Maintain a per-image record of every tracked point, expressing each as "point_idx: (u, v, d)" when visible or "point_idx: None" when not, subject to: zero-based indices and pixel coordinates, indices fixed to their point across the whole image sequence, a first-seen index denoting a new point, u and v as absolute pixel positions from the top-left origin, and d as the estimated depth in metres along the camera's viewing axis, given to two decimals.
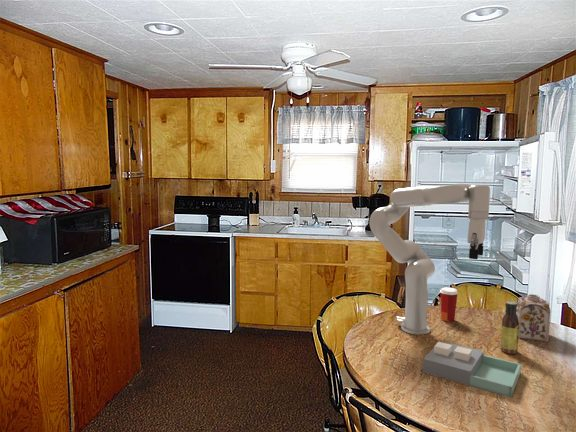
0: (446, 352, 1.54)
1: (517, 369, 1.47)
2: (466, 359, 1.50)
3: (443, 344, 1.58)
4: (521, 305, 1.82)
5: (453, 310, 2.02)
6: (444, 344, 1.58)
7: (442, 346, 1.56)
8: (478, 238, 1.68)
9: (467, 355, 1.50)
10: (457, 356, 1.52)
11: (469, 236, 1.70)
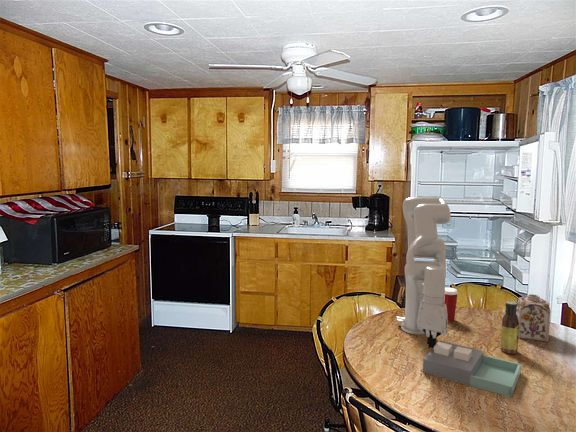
0: (446, 352, 1.54)
1: (517, 369, 1.47)
2: (466, 359, 1.50)
3: (443, 344, 1.58)
4: (521, 305, 1.82)
5: (453, 310, 2.02)
6: (444, 344, 1.58)
7: (442, 346, 1.56)
8: (447, 323, 1.57)
9: (467, 355, 1.50)
10: (457, 356, 1.52)
11: (445, 325, 1.54)
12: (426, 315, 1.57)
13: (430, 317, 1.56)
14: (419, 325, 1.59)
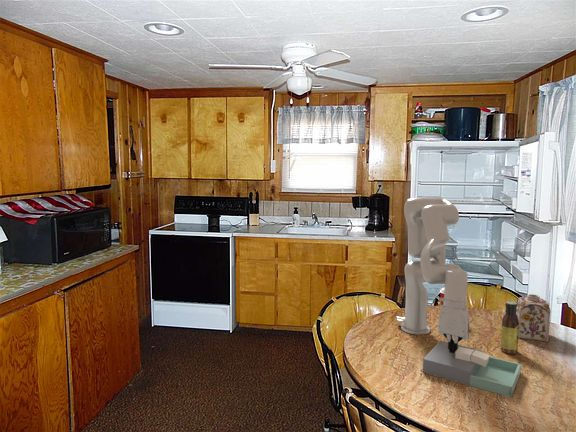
0: (468, 357, 1.50)
1: (517, 369, 1.47)
2: (483, 364, 1.47)
3: (465, 349, 1.54)
4: (521, 305, 1.82)
5: None
6: (466, 349, 1.54)
7: (464, 351, 1.52)
8: None
9: (485, 361, 1.47)
10: (474, 360, 1.49)
11: (467, 329, 1.50)
12: (447, 319, 1.53)
13: (451, 321, 1.52)
14: (440, 329, 1.55)
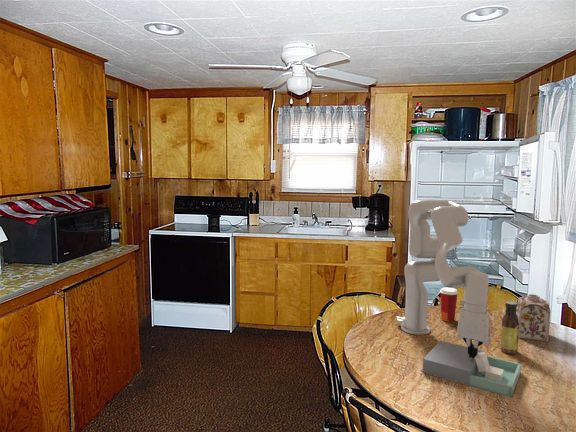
0: (482, 370, 1.47)
1: (517, 369, 1.47)
2: (487, 373, 1.47)
3: (486, 360, 1.49)
4: (521, 305, 1.82)
5: (453, 310, 2.02)
6: (486, 360, 1.50)
7: (485, 363, 1.48)
8: (489, 332, 1.49)
9: (486, 377, 1.47)
10: (497, 376, 1.45)
11: (488, 334, 1.46)
12: (467, 324, 1.49)
13: (471, 326, 1.48)
14: (459, 334, 1.51)
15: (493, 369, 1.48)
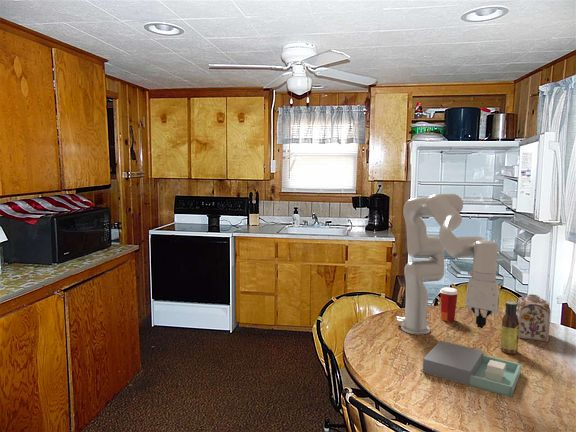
0: (488, 368, 1.46)
1: (517, 369, 1.47)
2: (487, 373, 1.47)
3: None
4: (521, 305, 1.82)
5: (453, 310, 2.02)
6: None
7: None
8: (498, 302, 1.47)
9: (486, 377, 1.47)
10: (497, 376, 1.45)
11: (497, 303, 1.44)
12: (476, 293, 1.47)
13: (480, 295, 1.46)
14: (468, 303, 1.49)
15: None
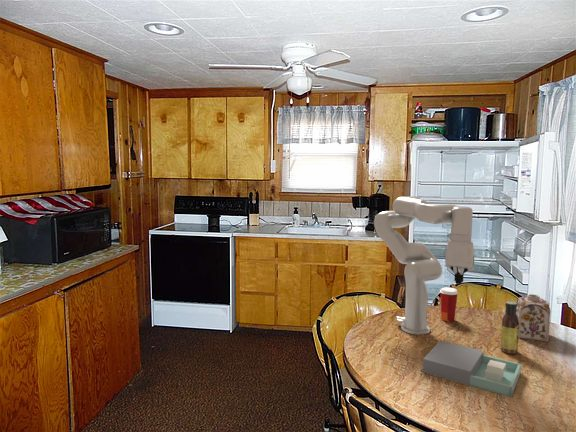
0: (488, 368, 1.46)
1: (517, 369, 1.47)
2: (487, 373, 1.47)
3: None
4: (521, 305, 1.82)
5: (453, 310, 2.02)
6: None
7: None
8: None
9: (486, 377, 1.47)
10: (497, 376, 1.45)
11: (472, 261, 1.64)
12: (454, 253, 1.67)
13: (457, 254, 1.66)
14: (447, 263, 1.69)
15: None
